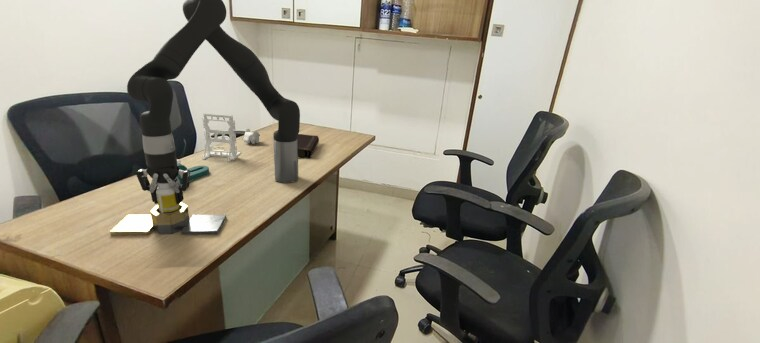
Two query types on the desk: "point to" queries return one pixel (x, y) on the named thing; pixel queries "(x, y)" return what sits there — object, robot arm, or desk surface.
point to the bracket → (194, 172)
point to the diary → (306, 145)
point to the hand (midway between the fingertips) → (168, 202)
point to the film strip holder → (232, 140)
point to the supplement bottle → (166, 199)
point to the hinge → (170, 223)
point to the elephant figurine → (251, 137)
